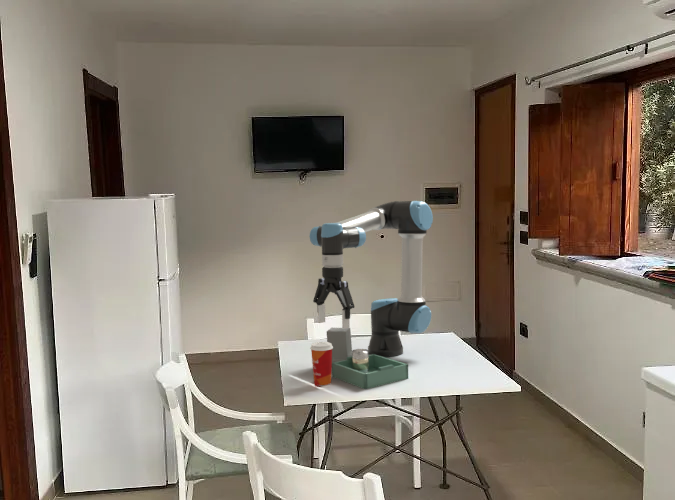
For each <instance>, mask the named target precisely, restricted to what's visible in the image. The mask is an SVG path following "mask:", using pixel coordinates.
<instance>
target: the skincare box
mask: <svg viewBox="0 0 675 500" xmlns="http://www.w3.org/2000/svg"><path fill="white" fill-rule="evenodd" d="M326 342H329V343H331V344H332V346H333V349H332V363H334V362H339V361H343V360H347V357H350V356H352V350H353V348H352V347H353V346H352V345H353V344H352V332H351V327H349V328H342V327H330V328H329V329H328V330H326Z"/></svg>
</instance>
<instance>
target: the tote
mask: <svg viewBox="0 0 675 500" xmlns="http://www.w3.org/2000/svg"><path fill="white" fill-rule="evenodd" d="M368 357H369V373H363V372H360V371H357V370H354V369H353V368H352V356H350V357H347V360H343V361H339V362H334V363H332V372H331V378H334V379H337V380H339V381H343V382H345V383H348V384H350V385H353V386H356V387H358V388H360V389H363V390H368V389H372V388H376V387H381V386H384V385H388V384H391V383H395V382H400V381H405V380H409V364H408V363H405V362H402V361H399V360H395V359H392V358H389V357H382V356H379V355H375V354H372V355H370V354H368Z"/></svg>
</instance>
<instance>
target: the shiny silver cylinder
mask: <svg viewBox="0 0 675 500" xmlns="http://www.w3.org/2000/svg"><path fill="white" fill-rule="evenodd" d="M368 355H369V353H368V349H366V348H355V349H352V368H353V369H354V370H357V371H360V372H363V373H369V357H368Z"/></svg>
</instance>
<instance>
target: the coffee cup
mask: <svg viewBox="0 0 675 500" xmlns="http://www.w3.org/2000/svg"><path fill="white" fill-rule="evenodd" d="M310 345H311V346H310V348H309V349H310V351H311V363H312V373H313V374H312V375H313V382H314V384H313V385H314V386H315V387H317V388H322V386H327V385H330V384H332V349H333V346H332V344H331V343H329V342H327V341H324V342H323V341H319V342H317V341H316V342H313V343H311V344H310Z"/></svg>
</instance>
